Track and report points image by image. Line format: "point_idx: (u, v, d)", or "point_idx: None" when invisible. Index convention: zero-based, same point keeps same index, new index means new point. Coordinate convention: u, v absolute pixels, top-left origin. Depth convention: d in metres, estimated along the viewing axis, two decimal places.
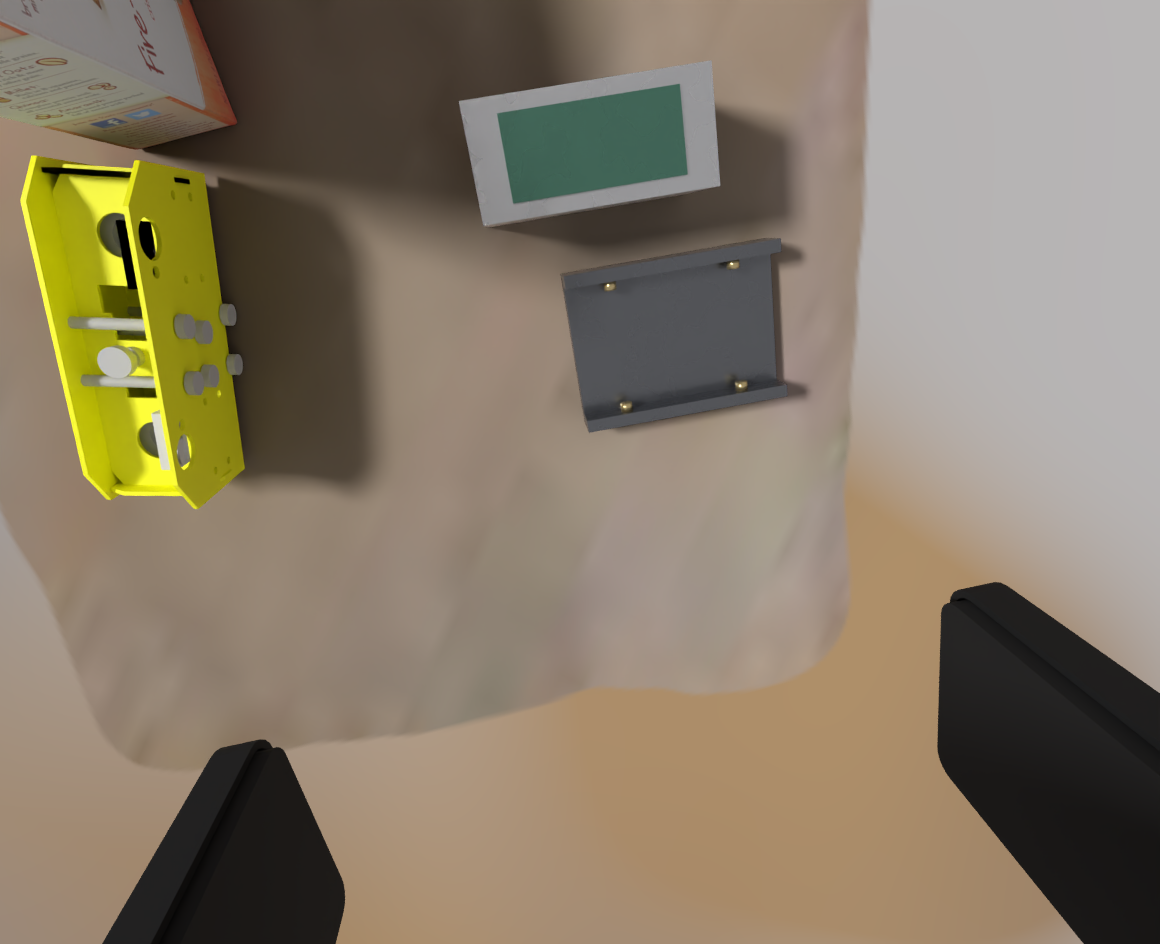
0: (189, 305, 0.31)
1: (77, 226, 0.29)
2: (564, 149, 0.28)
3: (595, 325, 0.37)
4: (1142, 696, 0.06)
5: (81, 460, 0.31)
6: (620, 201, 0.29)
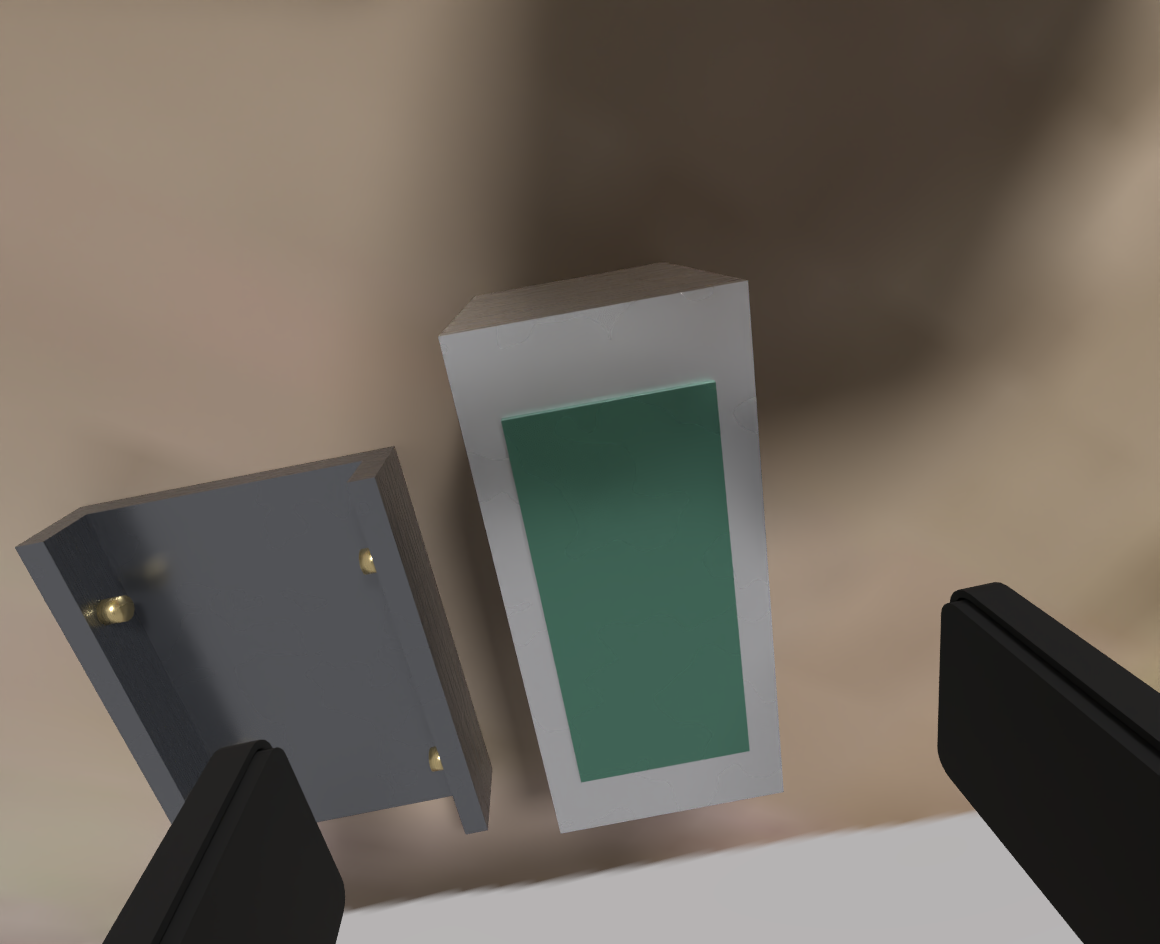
0: None
1: None
2: (631, 542, 0.11)
3: (292, 526, 0.18)
4: (1142, 696, 0.06)
5: None
6: (520, 660, 0.12)
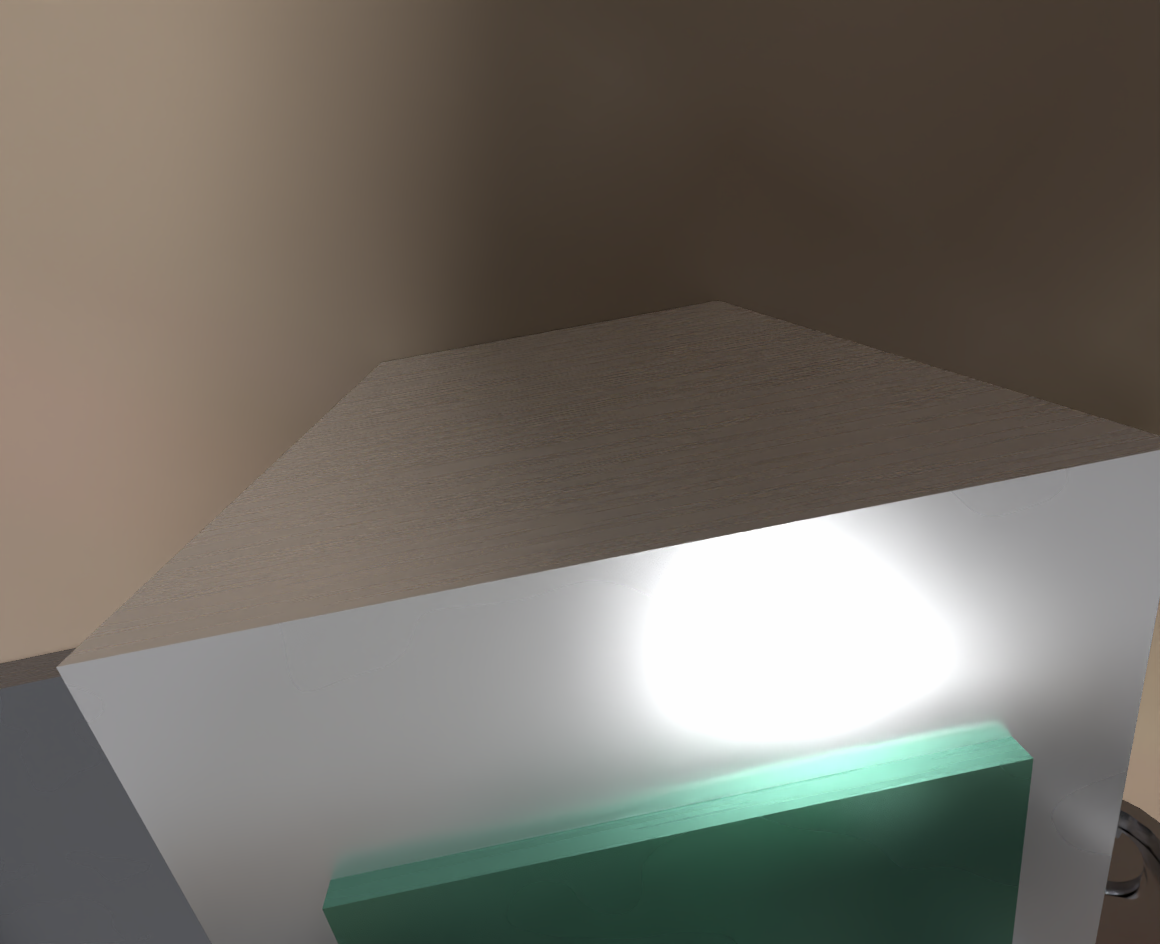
0: None
1: None
2: None
3: (73, 757, 0.10)
4: None
5: None
6: None
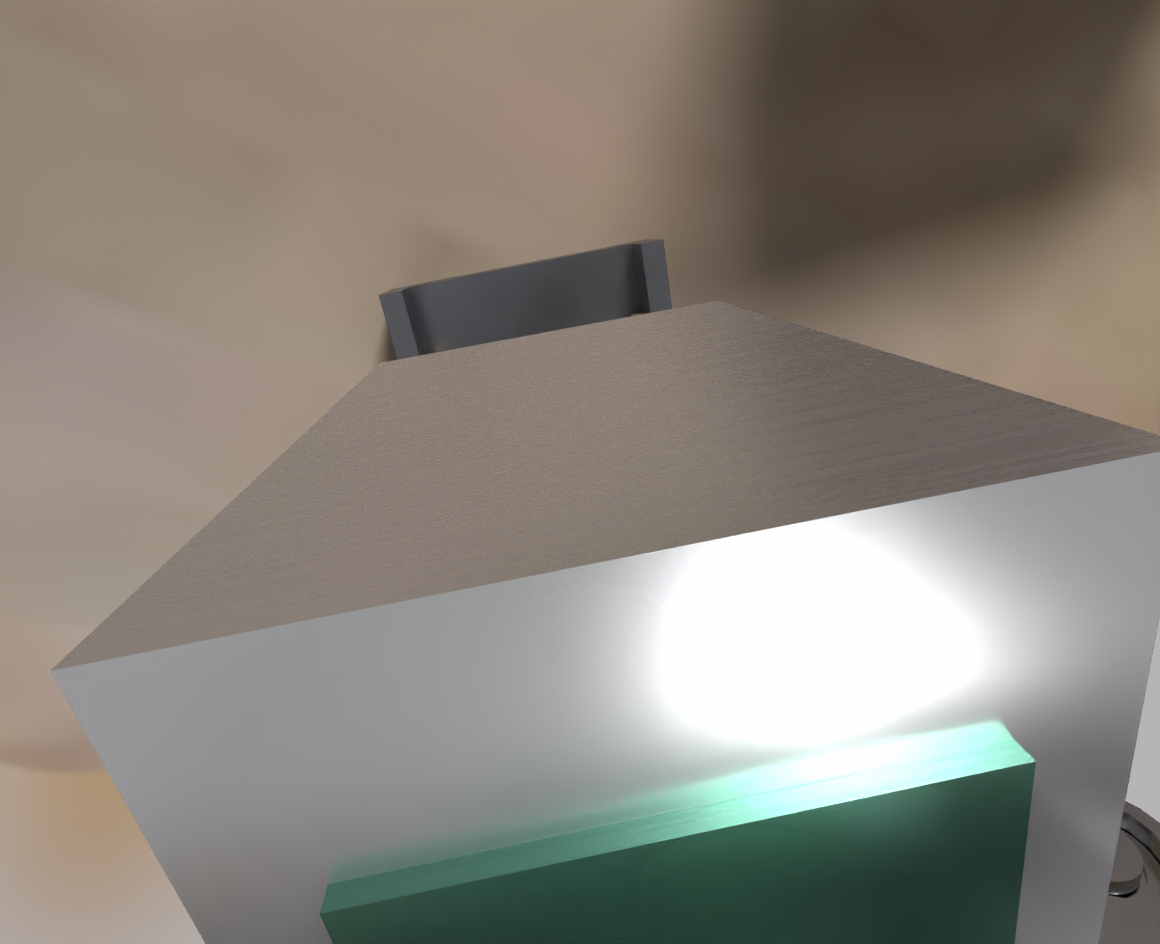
0: None
1: None
2: None
3: (569, 302, 0.22)
4: None
5: None
6: None
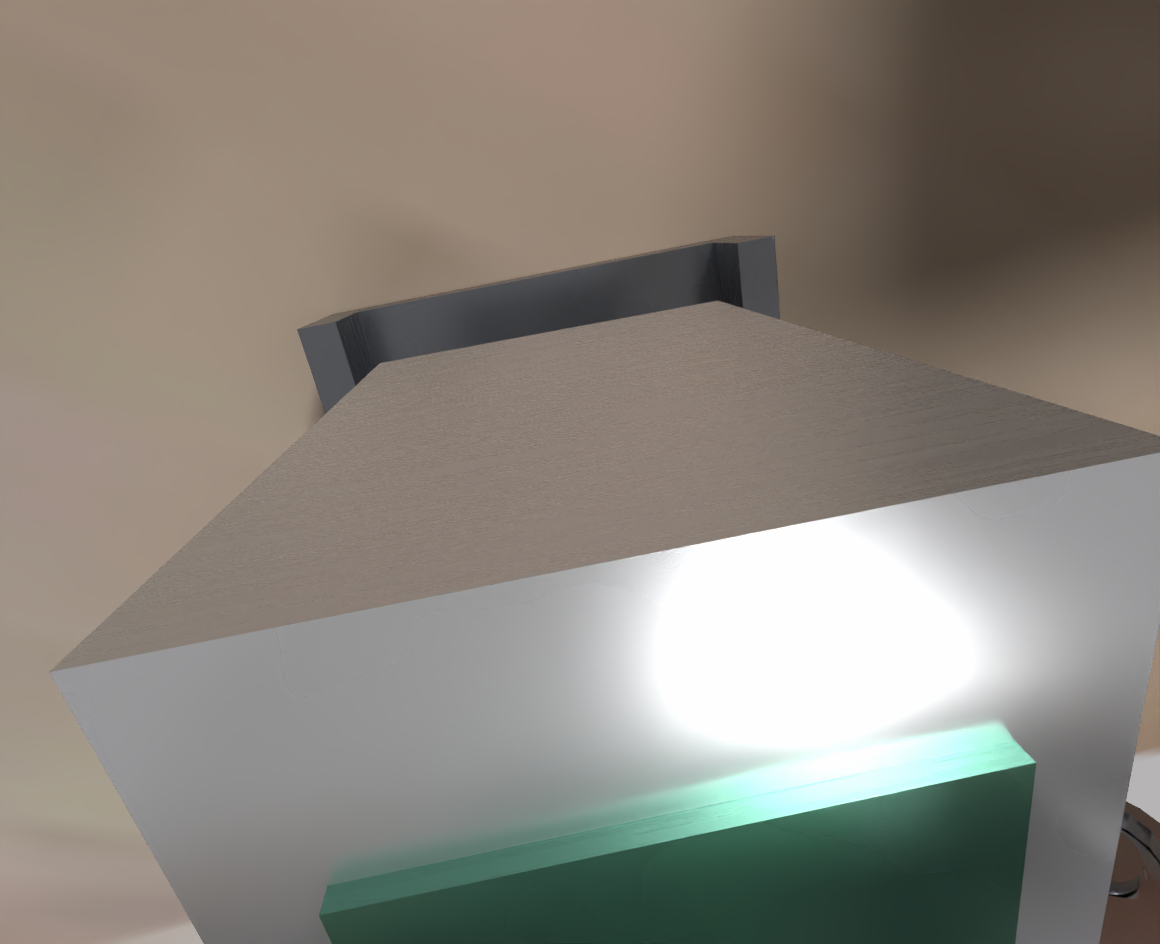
0: None
1: None
2: None
3: None
4: None
5: None
6: None
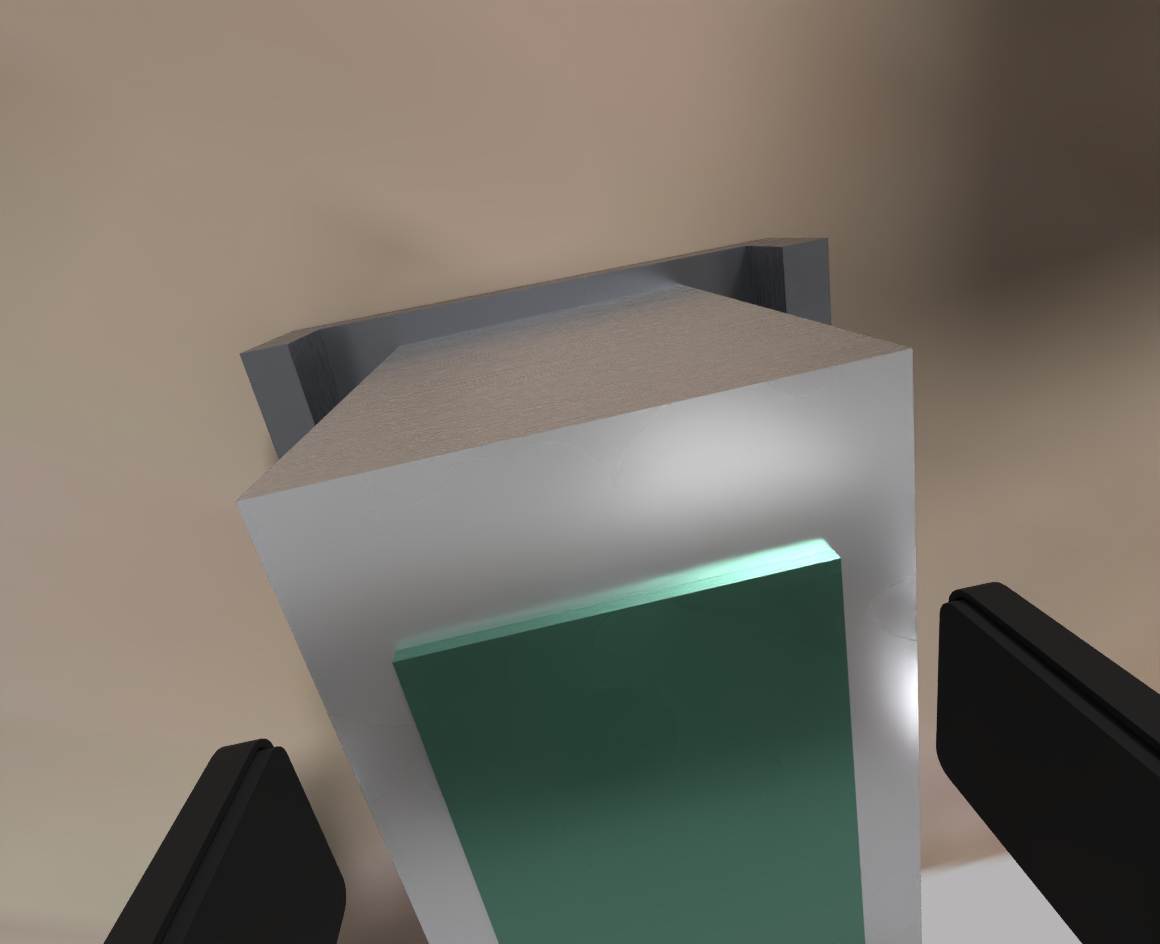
0: None
1: None
2: (670, 847, 0.06)
3: None
4: (1139, 695, 0.06)
5: None
6: None
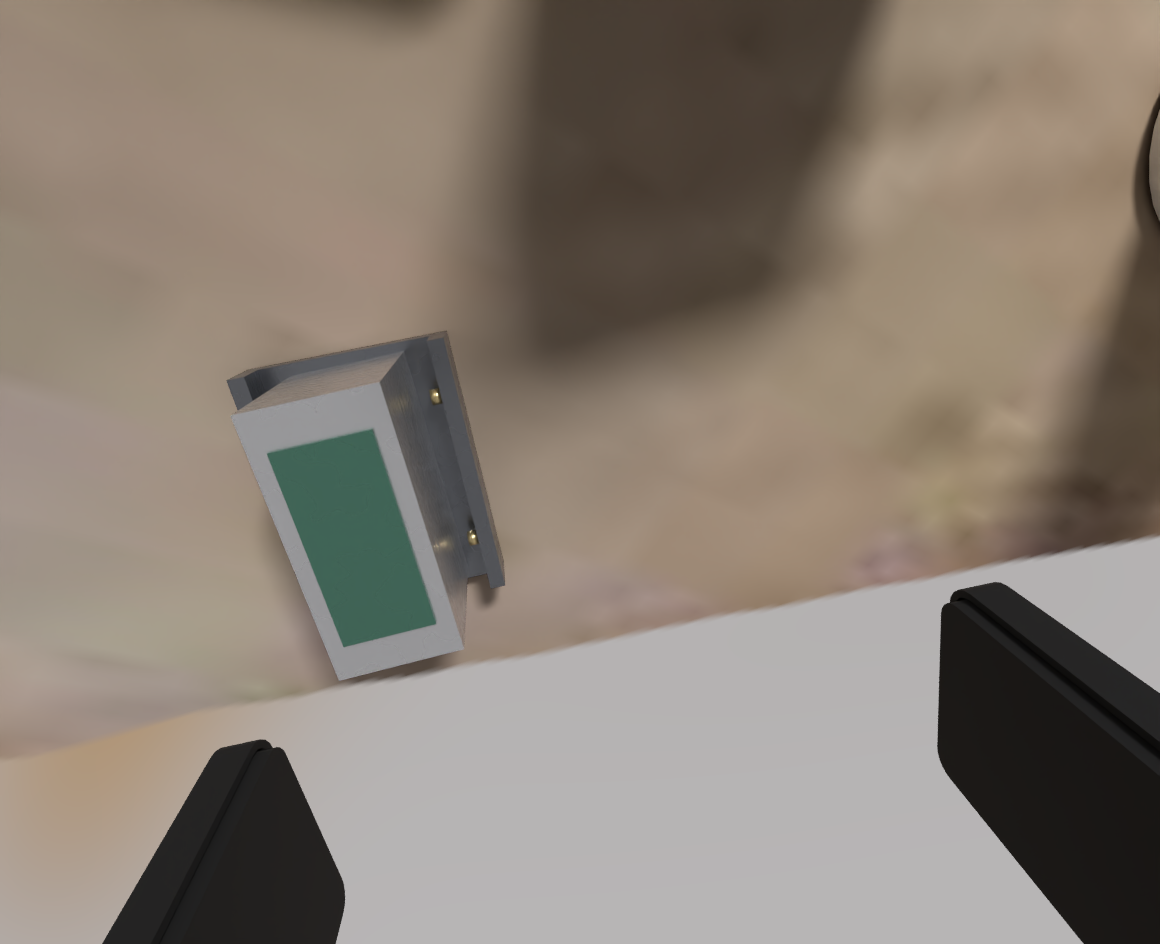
0: None
1: None
2: (344, 511, 0.23)
3: None
4: (1142, 696, 0.06)
5: None
6: (298, 578, 0.23)
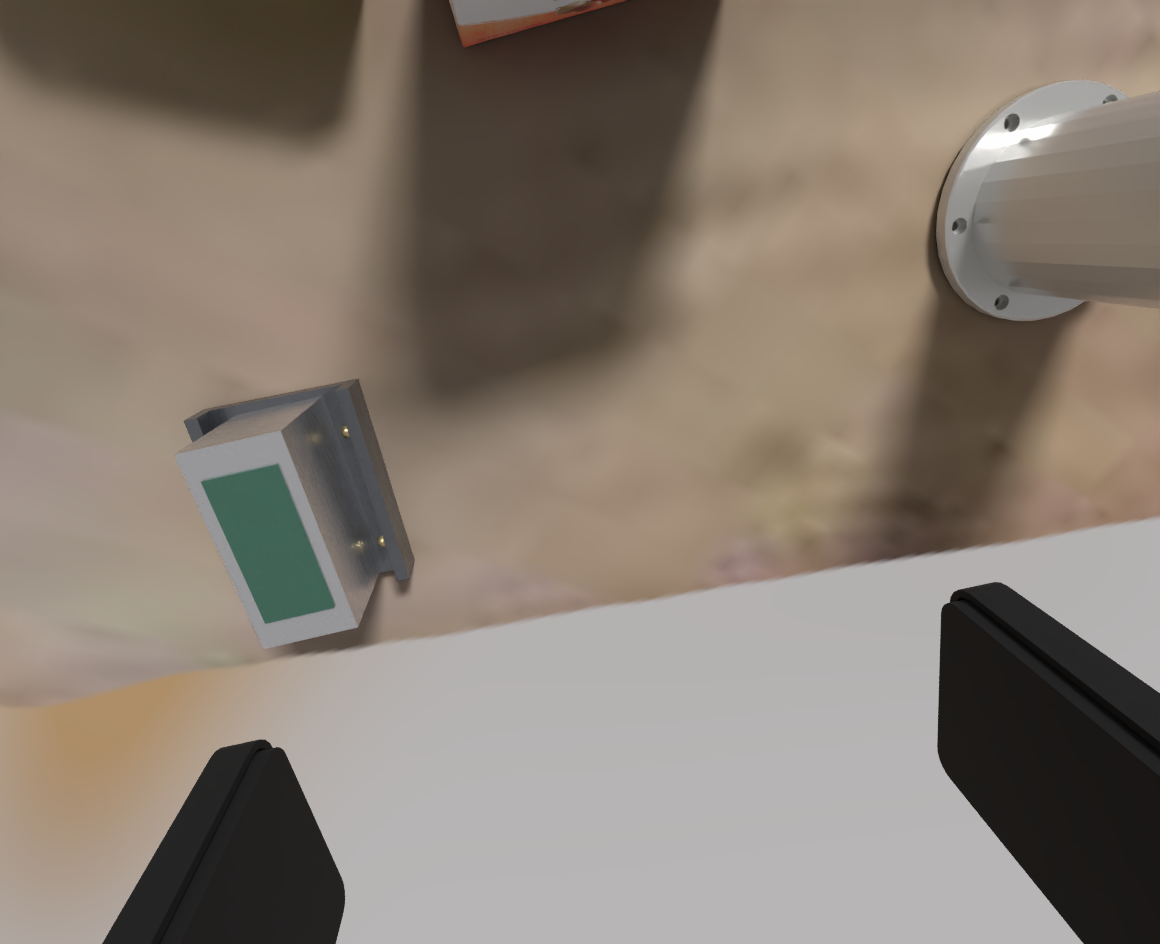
0: None
1: None
2: (260, 523, 0.31)
3: None
4: (1142, 696, 0.06)
5: None
6: (229, 572, 0.32)
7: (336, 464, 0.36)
